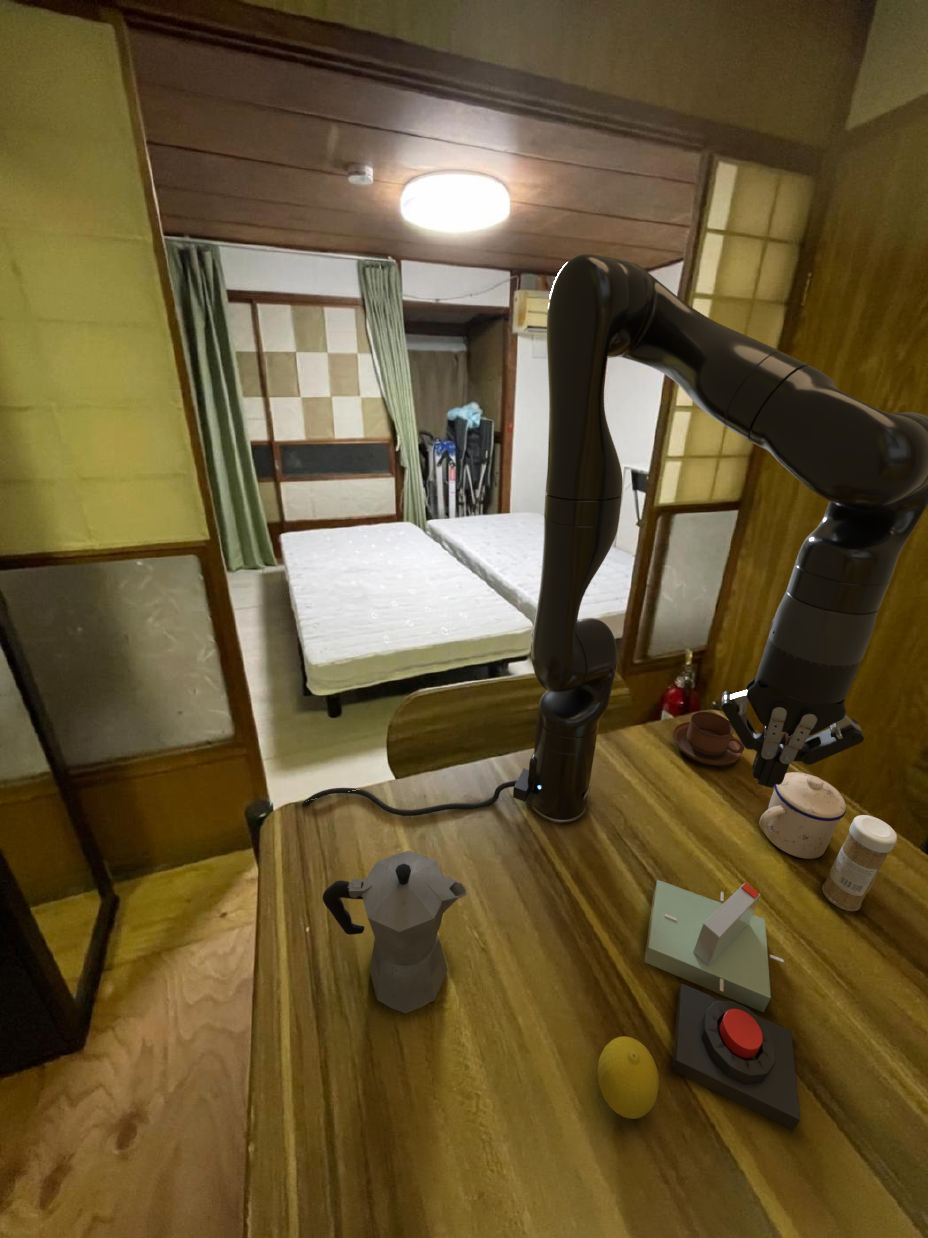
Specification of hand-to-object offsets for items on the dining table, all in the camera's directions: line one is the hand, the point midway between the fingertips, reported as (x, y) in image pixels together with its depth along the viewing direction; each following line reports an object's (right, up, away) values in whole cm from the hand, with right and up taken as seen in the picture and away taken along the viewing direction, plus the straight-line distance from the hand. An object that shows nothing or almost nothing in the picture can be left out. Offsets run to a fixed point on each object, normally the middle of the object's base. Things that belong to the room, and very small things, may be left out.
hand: (764, 781), depth 56 cm
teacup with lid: (+17, -17, +24) cm, 34 cm away
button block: (-5, -29, -2) cm, 29 cm away
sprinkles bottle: (+19, -21, +15) cm, 32 cm away
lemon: (-17, -30, -5) cm, 35 cm away
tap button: (-5, -25, -3) cm, 26 cm away
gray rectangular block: (-1, -21, +7) cm, 22 cm away
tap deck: (-3, -24, +9) cm, 25 cm away
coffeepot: (-40, -25, +6) cm, 48 cm away
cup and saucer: (+13, -7, +42) cm, 45 cm away
